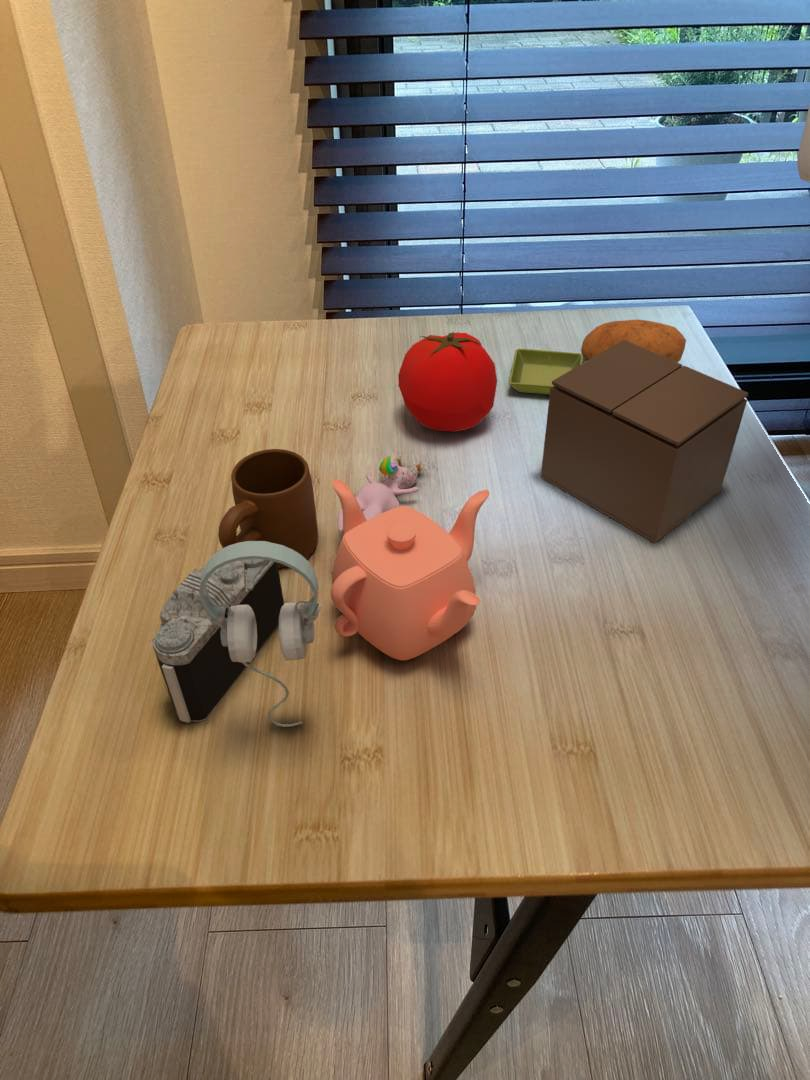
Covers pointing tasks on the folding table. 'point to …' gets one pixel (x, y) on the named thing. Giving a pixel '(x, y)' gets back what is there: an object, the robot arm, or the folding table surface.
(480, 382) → the tomato
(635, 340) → the potato
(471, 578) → the teapot
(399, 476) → the pink animal figure
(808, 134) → the robot arm
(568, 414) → the carton
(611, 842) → the folding table surface
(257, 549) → the headphones
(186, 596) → the camera
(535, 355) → the olive green tray
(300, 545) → the mug
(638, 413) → the flap
